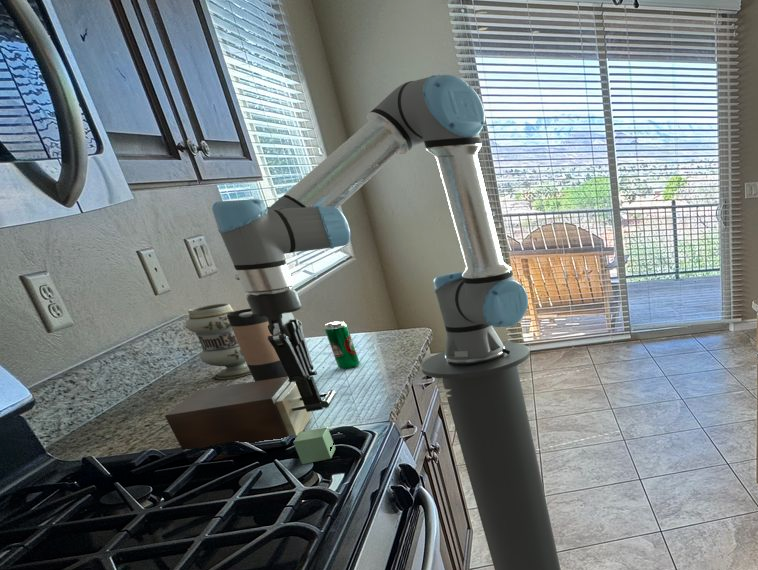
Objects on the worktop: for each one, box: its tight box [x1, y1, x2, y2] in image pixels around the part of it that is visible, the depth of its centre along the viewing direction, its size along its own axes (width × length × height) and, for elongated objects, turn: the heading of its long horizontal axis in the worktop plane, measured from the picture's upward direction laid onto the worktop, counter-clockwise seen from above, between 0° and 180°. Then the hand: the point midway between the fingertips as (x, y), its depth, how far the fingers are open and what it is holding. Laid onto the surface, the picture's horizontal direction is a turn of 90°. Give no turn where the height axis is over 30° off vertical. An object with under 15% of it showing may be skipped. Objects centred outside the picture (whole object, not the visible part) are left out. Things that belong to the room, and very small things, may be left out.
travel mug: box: [227, 308, 288, 382], centre depth 130 cm, size 8×8×20 cm
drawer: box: [275, 382, 337, 436], centre depth 110 cm, size 21×13×8 cm, turn 113°
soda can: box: [324, 320, 361, 370], centre depth 149 cm, size 5×5×12 cm
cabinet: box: [164, 377, 291, 461], centre depth 109 cm, size 16×14×10 cm
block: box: [293, 426, 336, 465], centre depth 102 cm, size 4×4×4 cm
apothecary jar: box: [185, 303, 252, 380], centre depth 148 cm, size 12×12×18 cm
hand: (315, 409), depth 113 cm, fingers closed
